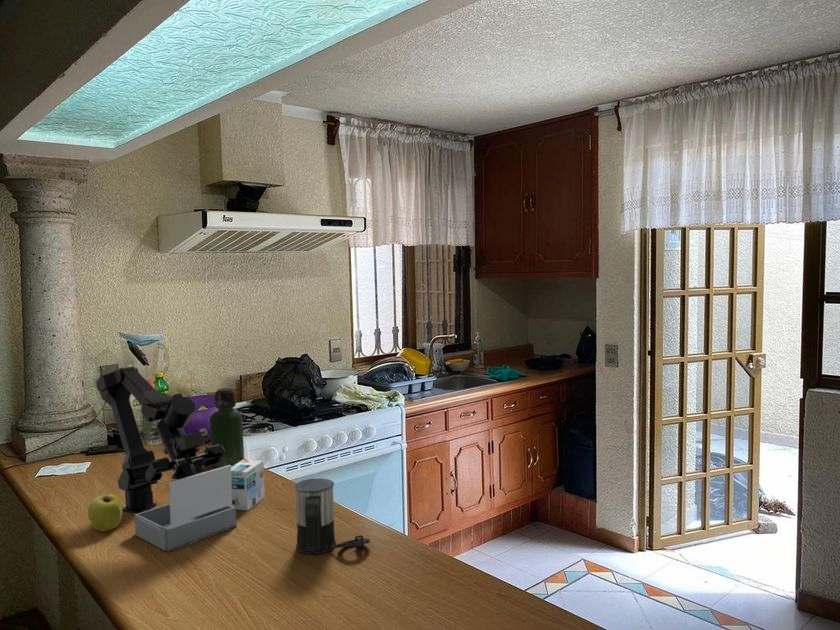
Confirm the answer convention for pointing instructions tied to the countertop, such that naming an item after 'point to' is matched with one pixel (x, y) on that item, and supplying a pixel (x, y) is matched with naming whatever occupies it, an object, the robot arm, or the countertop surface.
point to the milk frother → (318, 518)
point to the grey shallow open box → (181, 526)
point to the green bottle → (227, 428)
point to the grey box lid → (200, 494)
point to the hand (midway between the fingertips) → (200, 491)
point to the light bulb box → (247, 484)
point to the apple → (105, 512)
